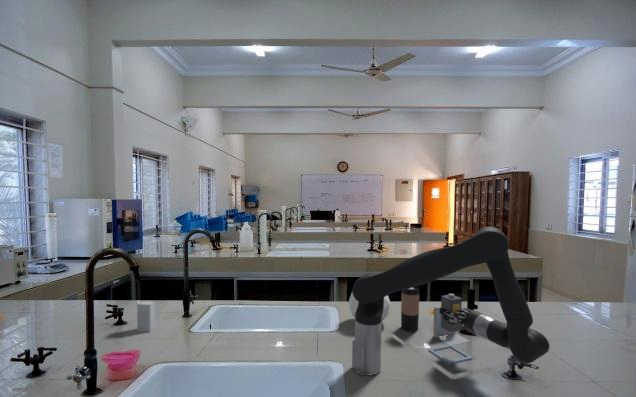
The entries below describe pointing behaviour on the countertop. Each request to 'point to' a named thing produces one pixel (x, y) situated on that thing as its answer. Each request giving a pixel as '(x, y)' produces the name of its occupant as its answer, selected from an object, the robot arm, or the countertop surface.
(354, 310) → the polyhedron
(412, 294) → the travel mug
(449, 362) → the blue-grey square frame
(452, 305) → the grey box bottle
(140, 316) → the skincare box
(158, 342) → the countertop surface
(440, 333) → the bay
